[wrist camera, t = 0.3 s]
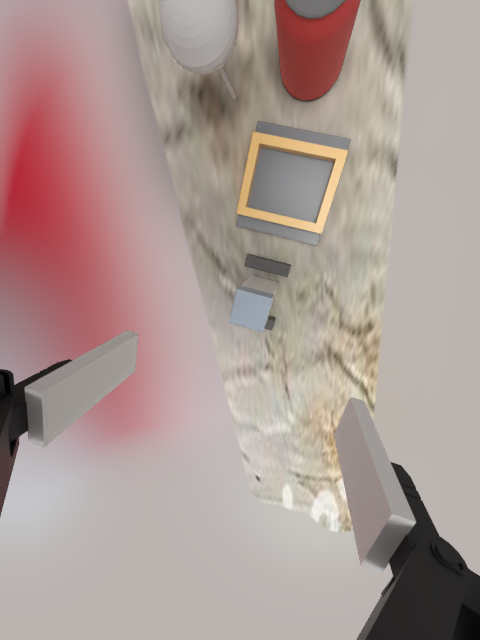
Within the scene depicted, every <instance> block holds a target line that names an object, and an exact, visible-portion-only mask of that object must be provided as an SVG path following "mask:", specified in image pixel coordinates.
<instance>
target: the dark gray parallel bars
mask: <svg viewBox="0 0 480 640" xmlns="http://www.w3.org/2000/svg"><path fill="white" fill-rule="evenodd" d="M245 266H247V267H251V268H255V269H258V270H262V271H266V272H270V273H274V274H277V275H281V276H285V277H288V273H289V270H290V267H291V265H289V264H286V263H282V262H278V261H274V260H270V259H266V258H262V257H258V256H254V255H250V254H248V255H247V258H246V263H245ZM274 321H275V318H274V317H271V316H268V319H267V322H266V325H265V329H269V330H272V328H273V325H274Z"/></svg>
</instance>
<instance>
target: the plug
mask: <svg viewBox="0 0 480 640" xmlns="http://www.w3.org/2000/svg"><path fill="white" fill-rule="evenodd" d="M277 285H278V282H276V281H272V280H269V279H265V278H261V277H257V276H253V275H251V276H250V277H249V278H248V279H247V280H246V281H245V282H243V283H242V284H241V285H240V286H239V287H238V288H237V290H236V294H235V299H234V303H233V308H232V312H231V317H230V321H229V323H233V324H236V325H240V326H243V327H247V328H250V329H254V330H257V331H261V332H263V331H264V328H265V325H266V322H267V319H268V316H269V313H270V310H271V306H272V303H273V299H274V296H275V292H276V289H277Z"/></svg>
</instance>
